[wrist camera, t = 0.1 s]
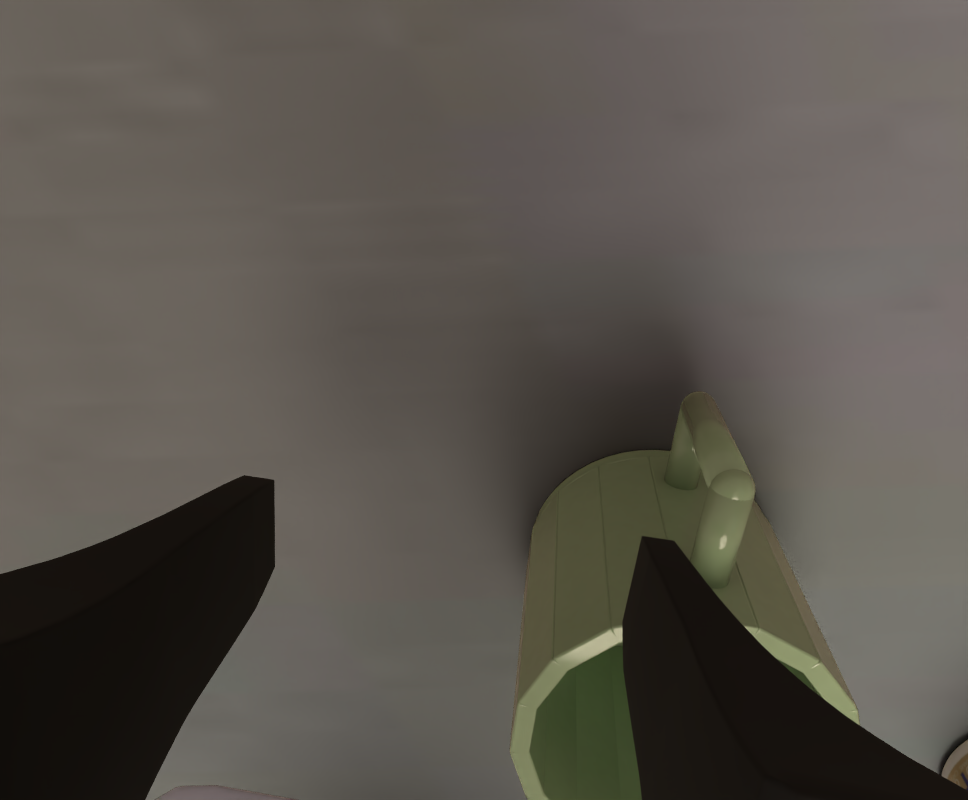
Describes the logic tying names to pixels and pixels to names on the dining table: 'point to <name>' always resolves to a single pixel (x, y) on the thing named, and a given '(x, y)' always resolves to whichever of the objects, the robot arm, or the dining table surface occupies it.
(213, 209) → the dining table surface
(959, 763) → the pill bottle
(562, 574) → the mug
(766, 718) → the robot arm
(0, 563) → the dining table surface
